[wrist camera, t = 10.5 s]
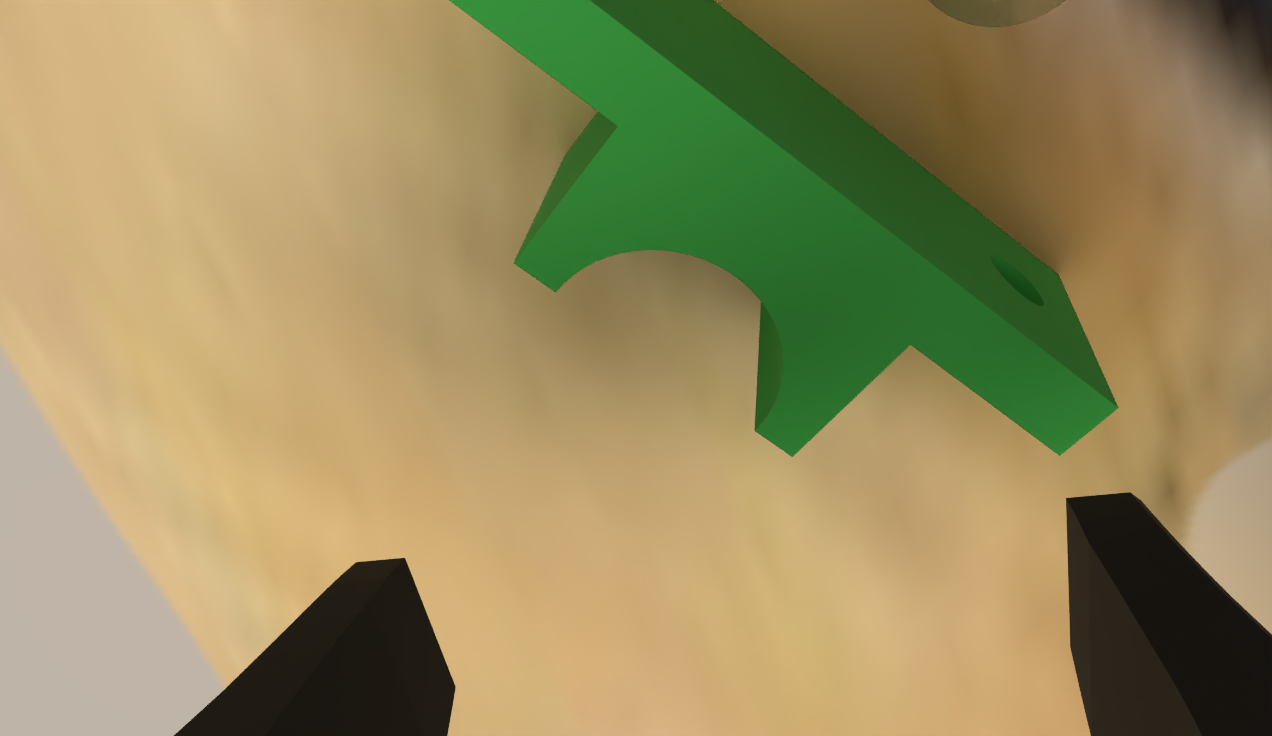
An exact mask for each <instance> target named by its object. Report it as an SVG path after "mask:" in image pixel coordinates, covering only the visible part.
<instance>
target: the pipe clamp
mask: <svg viewBox="0 0 1272 736" xmlns="http://www.w3.org/2000/svg"><path fill="white" fill-rule="evenodd" d="M449 1H451V2H452V3H454V4H455V5H456V6H458V7H459V8H460V9H462V10H463V11H464V12H466V13H467V14H468V15H470V16H471V17H472V18H474V19H475V20H476V21H478V22H479V23H480V24H482V25H483V26H484V27H486V28H487V29H488V30H490V31H491V32H492V33H494V34H495V35H496V36H498V37H499V38H500V39H502V40H503V41H504V42H506V43H507V44H508V45H510V46H511V47H512V48H514V49H515V50H517V51H518V52H519V53H521V54H522V55H523V56H525V57H526V58H527V59H529V60H530V61H531V62H533V63H534V64H535V65H537V66H538V67H539V68H541V69H542V70H543V71H545V72H546V73H547V74H549V75H550V76H551V77H553V78H554V79H555V80H557V81H558V82H559V83H561V84H562V85H563V86H565V87H566V88H567V89H569V90H570V91H571V92H573V93H574V94H575V95H577V96H578V97H580V98H581V99H582V100H584V101H585V102H586V103H588V104H589V105H590V106H592V107H593V108H594V109H596V110H597V111H598V112H597V114H596V115H595V116H594V118H593V119H592V120H591V122H590V123H589V124H588V126H587V127H586V128H585V130H584V131H583V132H582V134H581V135H580V136H579V138H578V139H577V141H576V142H575V143H574V145H573V146H572V147H571V149H570V150H569V151H568V153H567V154H566V155H565V157H564V159H563V161H562V163H561V165H560V167H559V169H558V171H557V173H556V175H555V178H554V180H553V182H552V184H551V186H550V188H549V190H548V192H547V194H546V196H545V198H544V200H543V203H542V205H541V207H540V209H539V211H538V213H537V215H536V217H535V219H534V221H533V223H532V226H531V228H530V230H529V232H528V234H527V236H526V238H525V240H524V242H523V244H522V246H521V249H520V251H519V253H518V255H517V257H516V259H515V261H514V264H516V265H517V266H518V267H520V268H521V269H523V270H524V271H526V272H527V273H529V274H530V275H531V276H533V277H534V278H536V279H537V280H539V281H540V282H541V283H543V284H544V285H546V286H547V287H549V288H550V289H552V290H553V291H554V292H557V290H558V289H559V288H560V287H561V286H562V285H563V284H564V283H565V282H566V281H567V280H568V279H570V278H571V277H572V276H573V275H574V274H576V273H577V272H579V271H580V270H582V269H583V268H585V267H587V266H588V265H590V264H592V263H594V262H596V261H599V260H601V259H604V258H606V257H609V256H612V255H616V254H620V253H624V252H630V251H637V250H667V251H674V252H680V253H684V254H689V255H692V256H695V257H698V258H701V259H704V260H707V261H709V262H711V263H713V264H715V265H718V266H719V267H721V268H723V269H725V270H726V271H728V272H730V273H731V274H733V275H734V276H735V277H737V278H738V279H739V280H741V281H742V282H743V283H744V284H745V285H746V286H748V287H749V288H750V289H751V290H752V291H753V292H754V294H755V295H756V296H757V297H758V298H759V299H760V300H761V315H760V335H759V356H758V376H757V396H756V416H755V431H756V432H757V433H759V434H760V435H762V436H763V437H764V438H766V439H767V440H769V441H770V442H772V443H773V444H775V445H776V446H777V447H779V448H780V449H782V450H783V451H785V452H786V453H787V454H789V455H790V456H792V457H793V456H794V455H795V454H796V453H797V452H798V451H799V450H800V449H801V448H802V447H803V446H804V445H805V444H806V443H807V442H808V441H810V440H811V439H812V438H813V437H814V436H815V435H816V434H817V433H818V432H819V431H820V430H821V429H822V428H823V427H824V426H825V425H826V424H827V423H828V422H829V421H831V420H832V419H833V418H834V417H835V416H836V415H837V414H838V413H839V412H840V411H841V410H842V409H843V408H844V407H845V406H846V405H847V404H848V403H849V402H850V401H852V400H853V399H854V398H855V397H856V396H857V395H858V394H859V393H860V392H861V391H862V390H863V389H864V388H865V387H866V386H867V385H868V384H869V383H870V382H871V381H873V380H874V379H875V378H876V377H877V376H878V375H879V374H880V373H881V372H882V371H883V370H884V369H885V368H886V367H887V366H888V365H889V364H890V363H891V362H892V361H894V360H895V359H896V358H897V357H898V356H899V355H900V354H901V353H902V352H903V351H904V350H905V349H906V348H907V347H908V346H909V345H910V344H911V345H912V346H913V347H915V348H916V349H917V350H919V351H920V352H921V353H923V354H924V355H925V356H927V357H928V358H929V359H931V360H932V361H933V362H935V363H936V364H937V365H939V366H940V367H941V368H943V369H944V370H945V371H947V372H948V373H949V374H951V375H952V376H953V377H955V378H956V379H957V380H959V381H960V382H962V383H963V384H964V385H966V386H967V387H968V388H970V389H971V390H972V391H974V392H975V393H976V394H978V395H979V396H980V397H982V398H983V399H984V400H986V401H987V402H988V403H990V404H991V405H992V406H994V407H995V408H996V409H998V410H999V411H1000V412H1002V413H1003V414H1004V415H1006V416H1007V417H1008V418H1010V419H1011V420H1012V421H1014V422H1015V423H1016V424H1018V425H1019V426H1020V427H1022V428H1023V429H1025V430H1026V431H1027V432H1029V433H1030V434H1031V435H1033V436H1034V437H1035V438H1037V439H1038V440H1039V441H1041V442H1042V443H1043V444H1045V445H1046V446H1047V447H1049V448H1050V449H1051V450H1053V451H1054V452H1055V453H1057V454H1058V455H1059V456H1060V455H1061V454H1062V453H1064V452H1065V451H1066V450H1067V449H1068V448H1070V447H1071V446H1072V445H1073V444H1075V443H1076V442H1077V441H1078V440H1079V439H1081V438H1082V437H1083V436H1084V435H1086V434H1087V433H1088V432H1089V431H1091V430H1092V429H1093V428H1094V427H1095V426H1097V425H1098V424H1099V423H1100V422H1102V421H1103V420H1104V419H1105V418H1107V417H1108V416H1109V415H1110V414H1111V413H1113V412H1114V411H1115V410H1116V409H1118V406H1117V404H1116V401H1115V399H1114V397H1113V395H1112V393H1111V390H1110V388H1109V386H1108V384H1107V381H1106V379H1105V377H1104V375H1103V372H1102V370H1101V368H1100V366H1099V364H1098V361H1097V359H1096V357H1095V355H1094V352H1093V350H1092V348H1091V346H1090V344H1089V341H1088V339H1087V337H1086V335H1085V332H1084V330H1083V328H1082V326H1081V324H1080V321H1079V319H1078V317H1077V315H1076V312H1075V310H1074V308H1073V306H1072V304H1071V301H1070V299H1069V297H1068V295H1067V292H1066V290H1065V288H1064V286H1063V284H1062V281H1061V279H1060V277H1059V275H1058V274H1056V273H1055V272H1054V271H1053V270H1051V269H1050V268H1049V267H1048V266H1046V265H1045V264H1044V263H1043V262H1041V261H1040V260H1039V259H1038V258H1036V257H1035V256H1034V255H1033V254H1031V253H1030V252H1029V251H1028V250H1026V249H1025V248H1024V247H1023V246H1021V245H1020V244H1019V243H1017V242H1016V241H1015V240H1014V239H1012V238H1011V237H1010V236H1009V235H1007V234H1006V233H1005V232H1004V231H1002V230H1001V229H1000V228H999V227H997V226H996V225H995V224H994V223H992V222H991V221H990V220H989V219H987V218H986V217H985V216H984V215H982V214H981V213H980V212H979V211H977V210H976V209H975V208H974V207H972V206H971V205H970V204H968V203H967V202H966V201H965V200H963V199H962V198H961V197H960V196H958V195H957V194H956V193H955V192H953V191H952V190H951V189H950V188H948V187H947V186H946V185H945V184H943V183H942V182H941V181H940V180H938V179H937V178H936V177H935V176H933V175H932V174H931V173H930V172H928V171H927V170H926V169H924V168H923V167H922V166H921V165H919V164H918V163H917V162H916V161H914V160H913V159H912V158H911V157H909V156H908V155H907V154H906V153H904V152H903V151H902V150H901V149H899V148H898V147H897V146H896V145H894V144H893V143H892V142H891V141H889V140H888V139H887V138H886V137H884V136H883V135H882V134H880V133H879V132H878V131H877V130H875V129H874V128H873V127H872V126H870V125H869V124H868V123H867V122H865V121H864V120H863V119H862V118H860V117H859V116H858V115H857V114H855V113H854V112H853V111H852V110H850V109H849V108H848V107H847V106H845V105H844V104H843V103H842V102H840V101H839V100H838V99H836V98H835V97H834V96H833V95H831V94H830V93H829V92H828V91H826V90H825V89H824V88H823V87H821V86H820V85H819V84H818V83H816V82H815V81H814V80H813V79H811V78H810V77H809V76H808V75H806V74H805V73H804V72H803V71H801V70H800V69H799V68H798V67H796V66H795V65H794V64H792V63H791V62H790V61H789V60H787V59H786V58H785V57H784V56H782V55H781V54H780V53H779V52H777V51H776V50H775V49H774V48H772V47H771V46H770V45H769V44H767V43H766V42H765V41H764V40H762V39H761V38H760V37H759V36H757V35H756V34H755V33H754V32H752V31H751V30H750V29H749V28H747V27H746V26H745V25H743V24H742V23H741V22H740V21H738V20H737V19H736V18H735V17H733V16H732V15H731V14H730V13H728V12H727V11H726V10H725V9H723V8H722V7H721V6H720V5H718V4H717V3H716V2H715V1H713V0H449Z"/></svg>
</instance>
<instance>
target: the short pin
mask: <svg viewBox="0 0 1272 736" xmlns="http://www.w3.org/2000/svg"><path fill="white" fill-rule="evenodd" d="M929 1H930V2H931V3H932V4H933V5H934V6H936V7H937V8H938V9H939V10H941V11H942V12H944V13H945V14H947V15H949V16H951V17H953V18H955V19H957V20H959V21H962V22H965V23H968V24H973V25H978V26H988V27H999V26H1009V25H1014V24H1019V23H1023V22H1026V21H1029V20H1032V19H1035V18H1037V17H1039V16H1041V15H1043V14H1045V13H1047V12H1049V11H1050V10H1052V9H1054V8H1055V7H1057V6H1058V5H1060V4H1061V3H1062V2H1064V1H1065V0H929Z"/></svg>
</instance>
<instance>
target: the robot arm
mask: <svg viewBox="0 0 1272 736" xmlns="http://www.w3.org/2000/svg"><path fill="white" fill-rule="evenodd" d="M1066 509H1067V543H1068V577H1069V612H1070V646H1071V652H1072V656H1073V660H1074V665H1075V669H1076V674H1077V678H1078V682H1079V687H1080V691H1081V696H1082V700H1083V704H1084V708H1085V712H1086V717H1087V721H1088V725H1089V729H1090V733H1091V736H1272V634H1270V633H1269V632H1268V631H1267V630H1266V629H1265V628H1264V627H1263V626H1262V625H1261V624H1260V623H1259V622H1258V621H1257V620H1256V619H1254V618H1253V617H1252V616H1251V615H1250V614H1249V613H1248V612H1247V611H1246V610H1245V609H1244V608H1243V607H1242V606H1241V605H1240V604H1239V603H1238V602H1236V601H1235V600H1234V599H1233V598H1232V597H1231V596H1230V595H1229V594H1228V593H1227V592H1226V591H1225V590H1224V589H1223V588H1222V587H1221V586H1220V585H1219V584H1218V583H1217V582H1216V581H1215V580H1214V579H1213V578H1212V577H1211V576H1210V575H1209V574H1208V573H1207V572H1206V571H1205V570H1204V569H1203V568H1202V567H1201V565H1200V564H1199V563H1198V562H1197V561H1196V560H1195V559H1194V558H1193V557H1192V556H1191V555H1190V554H1189V553H1188V552H1187V551H1186V550H1185V549H1184V548H1183V547H1182V546H1181V545H1180V543H1179V542H1178V541H1177V540H1176V539H1175V538H1174V537H1173V536H1172V535H1171V534H1170V533H1169V532H1168V530H1167V529H1166V528H1165V527H1164V526H1163V525H1162V524H1161V523H1160V522H1159V520H1158V519H1157V518H1156V517H1155V516H1154V515H1153V514H1152V513H1151V511H1150V510H1149V509H1148V508H1147V507H1146V506H1145V504H1144V503H1143V502H1142V501H1141V500H1139V499H1138V498H1137V497H1136V496H1134V495H1133V494H1132V493H1130V492H1129V493H1118V494H1107V495H1096V496H1085V497H1074V498H1066ZM454 693H455V685H454V682H453V679H452V677H451V674H450V672H449V669H448V667H447V664H446V662H445V659H444V656H443V654H442V651H441V649H440V646H439V644H438V641H437V639H436V636H435V633H434V631H433V628H432V626H431V623H430V621H429V618H428V616H427V613H426V611H425V608H424V605H423V603H422V600H421V598H420V595H419V593H418V590H417V588H416V585H415V582H414V580H413V577H412V575H411V572H410V570H409V567H408V565H407V562H406V559H405V558H399V559H388V560H377V561H366V562H356V563H355V564H354V565H353V566H351V567H350V568H349V569H348V570H347V571H346V572H345V573H343V574H342V575H341V576H340V577H339V578H338V579H337V580H336V581H335V582H334V583H333V584H332V585H331V586H330V587H329V588H327V589H326V590H325V591H324V592H323V593H322V594H321V595H320V596H319V597H318V598H317V599H316V600H315V601H314V602H313V603H312V604H311V605H310V606H309V607H308V608H307V609H306V610H305V611H304V612H303V613H302V614H301V615H300V616H299V617H298V618H297V619H296V620H295V621H294V622H293V623H292V624H291V625H290V626H289V627H288V628H287V629H286V630H285V631H284V632H283V633H282V634H281V635H280V636H279V637H278V638H277V639H276V640H275V641H274V642H273V643H272V644H271V645H270V646H269V647H268V648H267V649H266V650H265V651H264V652H263V653H262V654H261V655H260V656H258V657H257V658H256V659H255V660H254V661H253V662H252V663H251V664H250V665H249V666H248V667H247V668H246V669H245V670H244V671H243V672H242V673H241V674H240V675H239V676H238V677H237V678H236V679H235V680H234V681H233V682H232V683H231V684H230V685H229V686H228V687H227V688H226V689H225V690H224V691H223V692H222V693H220V694H219V695H218V696H217V697H216V698H215V699H214V700H213V701H212V702H211V703H209V705H207V706H206V707H205V708H204V709H203V710H202V711H201V712H200V713H198V714H197V715H196V716H195V717H194V718H193V719H192V720H191V721H190V722H189V723H187V724H186V725H185V726H184V727H183V728H182V729H181V730H180V731H179V732H178V733H176V734H175V735H174V736H447V734H448V728H449V722H450V717H451V711H452V705H453V699H454Z"/></svg>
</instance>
